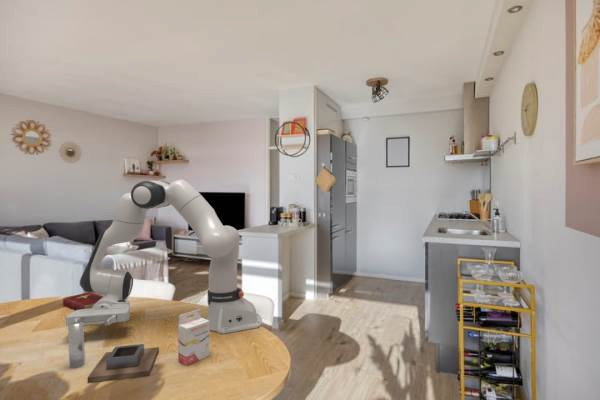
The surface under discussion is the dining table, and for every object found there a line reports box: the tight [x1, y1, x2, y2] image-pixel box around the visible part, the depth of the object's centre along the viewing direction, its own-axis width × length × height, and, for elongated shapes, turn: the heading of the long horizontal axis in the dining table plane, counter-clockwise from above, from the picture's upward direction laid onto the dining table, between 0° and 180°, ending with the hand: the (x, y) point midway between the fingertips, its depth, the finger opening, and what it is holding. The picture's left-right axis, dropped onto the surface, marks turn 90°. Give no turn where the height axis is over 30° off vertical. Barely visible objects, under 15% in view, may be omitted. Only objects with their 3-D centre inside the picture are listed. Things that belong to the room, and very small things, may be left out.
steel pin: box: [67, 321, 86, 370], centre depth 104 cm, size 4×4×13 cm
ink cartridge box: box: [177, 308, 210, 367], centre depth 107 cm, size 9×5×15 cm, turn 141°
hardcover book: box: [62, 292, 104, 311], centre depth 157 cm, size 12×21×4 cm, turn 57°
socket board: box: [86, 346, 160, 384], centre depth 103 cm, size 16×15×2 cm
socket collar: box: [106, 343, 145, 370], centre depth 103 cm, size 8×8×3 cm
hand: (91, 324), depth 115 cm, fingers open, 8 cm apart
